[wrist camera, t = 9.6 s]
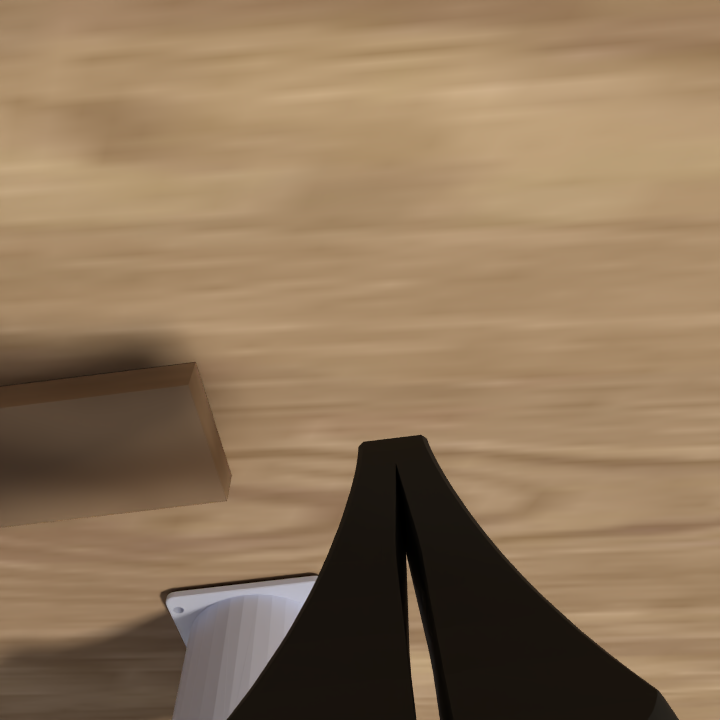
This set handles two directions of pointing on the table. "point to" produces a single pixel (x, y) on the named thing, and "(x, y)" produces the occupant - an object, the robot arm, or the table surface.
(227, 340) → the table surface
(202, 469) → the track
